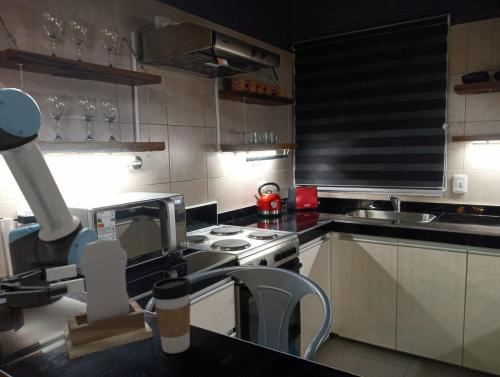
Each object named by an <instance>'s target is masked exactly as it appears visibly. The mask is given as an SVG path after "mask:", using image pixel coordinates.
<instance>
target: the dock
mask: <svg viewBox="0 0 500 377" xmlns="http://www.w3.org/2000/svg"><path fill="white" fill-rule="evenodd" d="M129 308H130V313H127V314H123V315H119V316H115V317H111V318H106V319H102V320H98V321H94V322H90V323H88V321H87V311H83V312H78V313H75V314H71V315H67V324H68V327H67V328H64V329H63V336H65V337H64V339H65V340H64V341H65V345H66V349H67V353H68V357H69V360H73V359H74V360H75V359H78V358H80V356H81V357H85V356H88V355H87V354H89V355H91V354H90V353H92V354H94V353H93V352H96V353H98V352H97V351H100V352H102V351H101V350H103V351H105V350H104V349H107V348H110V349H112V348H111V347H114V348H116V347H115V346H118V347H120V346H119V345H121V346H124V345H123V344H125V345H127V344H126V343H129V344H131V343H130V342H132V343H135V342H134V341H136V342H139V340H140V341H143V340H147V339H150V337H151V338H154V335H153V334H154V333H153V330H152V328H151V327H150V326H149V324H148V323H147V322H146V320H145V311H144V310H143V309H142V308H141V306H140V305H139V304H138V303H137V301H136V300H132V301H129ZM107 350H108V349H107ZM84 355H85V356H84ZM77 357H78V358H77Z"/></svg>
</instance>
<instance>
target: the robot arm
mask: <svg viewBox="0 0 500 377" xmlns="http://www.w3.org/2000/svg"><path fill="white" fill-rule="evenodd" d="M41 120H42V113H41V110H40V108H39V105H38V104H37V102H36V101H35V100H34V98H33V97H31V96H30V94H28V93H26V92H25V91H22V90H21V89H19V88H18V89H17V88H4V87H3V88H0V155H1V156H2V158H3V160H4V161H5V164H6V165H7V167H8V169H9V170H10V173H11V175H12V177H13V178H14V181H15V182H16V184H17V186H18V187H19V190H20V192H21V193H22V195H23V197H24V198H25V201H26V203H27V205H28V206H29V208H30V210H31V212H32V214H33V216H34V218H35V219H36V222H37V223H35V224H30V225H27V226H26V225H25V226H23V227H19V228H14V229H12V230H11V231H10V232H9V233H8V243H7V244H8V250H9V258H10V266H11V272H12V275H10V276H8V277H7V276H6V277H2V278H1V277H0V308H4V307H12V308H17V309H18V308H20V309H21V308H22V309H26V308H33V307H38V306H43V305H47V304H51V303H53V302H54V301H57V300H59V299H61V298H62V297H63V296H68V295H75V294H79V293H83V292H86V291H85V290H86V288H85V280H84V278H77V279H73V280H66V281H61V280H62V279H66V278H67V279H69V278H73V277H77V276H78V275H77V268H80V259H81V258H82V257H83V255H84V250H85V244H89V243H93V242H95V241H98V236H97V233H96V231H95V230H94V229H92V228H90V227H88V226H87V227H84V226H83V224H82V221H81V220H80V219H81V218H79V217H78V216H77V215H73V214H71V212H70V210H69V207H68V206H67V203H66V201H65V199H64V197H63V195H62V192H61V190H60V189H59V187H58V184H57V183H56V180H55V179H54V176H53V174H52V172H51V170H50V167H49V166H48V163H47V161H46V160H45V157H44V155H43V153H42V151H41V149H40V147H39V144H38V140H39V138H40V137H41V136H40V132H39V130H40V129H41V127H42V126H41V125H42V121H41Z"/></svg>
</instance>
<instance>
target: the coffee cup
mask: <svg viewBox="0 0 500 377" xmlns="http://www.w3.org/2000/svg"><path fill="white" fill-rule="evenodd" d="M191 293H192V287H191V284H190V279H189V278H188V277H187V276H186V277H185V276H183V277H182V276H181V277H180V276H179V277H170V278H164V279H160V280H158V281H155V282H154V283H153V284H152V291H151V294H152V295H151V296H152V297H153V298H154V302H155V303H154V309H155V314H156V319H157V320H156V321H157V325H158V331H159V335H160V341H161V347H162V350H163V352H165V353H166V354H178V353H182V352H184V351H186V350H188V349H189V347H190V344H191V343H190V340H191V339H190V337H191V336H190V333H191V332H190V330H191V327H190V326H191V299H190V296H191V295H190V294H191Z"/></svg>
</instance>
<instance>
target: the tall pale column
mask: <svg viewBox="0 0 500 377" xmlns="http://www.w3.org/2000/svg"><path fill="white" fill-rule="evenodd" d="M127 265H128V258H127V251H126V250H125V249H123V248H122V245H121V242H120V239H118V238H116V239H108V238H107V239H106V238H105V239H102V238H101V239H99V240H98V239H97V241H95V242H93V243H89V244H85V250H84V255H83V257H82V258H81V259H80V267H79V268H80V272H81V274H82V275H83V276H84V278H83V279H84V288H85V290H86V291H85V292H86V298H87V301H86V306H85V308H86V309H85V310H86V311H85V312H87V321H88V323H90V322H94V321H98V320H102V319H106V318H111V317H115V316H119V315H123V314H127V313H130V308H129V302H130V299H129V298H130V297H129V294H128V292H127V283H126V280H127V279H126V269H125V268H126V266H127Z"/></svg>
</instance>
